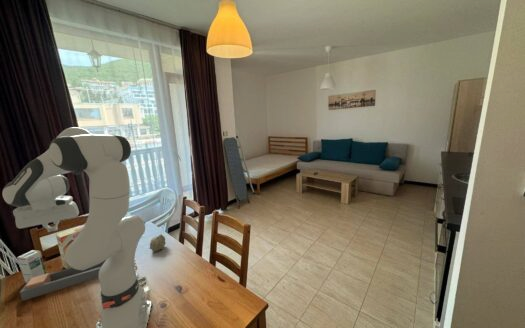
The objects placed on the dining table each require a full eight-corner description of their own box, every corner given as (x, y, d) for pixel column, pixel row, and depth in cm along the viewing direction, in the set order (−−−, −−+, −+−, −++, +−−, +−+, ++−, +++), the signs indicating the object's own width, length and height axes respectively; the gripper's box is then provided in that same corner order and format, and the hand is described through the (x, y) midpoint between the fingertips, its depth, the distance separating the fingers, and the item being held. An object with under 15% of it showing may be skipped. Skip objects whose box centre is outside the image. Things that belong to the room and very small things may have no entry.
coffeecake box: (68, 271, 109) (59, 237, 105) (63, 266, 112) (54, 234, 108) (101, 255, 121) (94, 224, 117) (95, 251, 125) (89, 222, 121)
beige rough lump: (163, 248, 130) (165, 232, 131) (166, 252, 123) (169, 235, 124) (146, 249, 124) (149, 233, 125) (149, 254, 117) (152, 236, 119)
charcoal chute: (112, 272, 106) (110, 265, 105) (22, 300, 90) (19, 292, 90) (114, 263, 114) (112, 255, 113) (31, 287, 98) (29, 279, 97)
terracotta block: (46, 289, 95) (43, 280, 94) (27, 294, 92) (25, 286, 91) (51, 280, 100) (49, 272, 99) (34, 285, 97) (31, 277, 96)
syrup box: (33, 284, 100) (25, 257, 97) (24, 282, 101) (16, 256, 98) (47, 275, 106) (40, 250, 103) (39, 274, 107) (31, 249, 104)
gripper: (7, 210, 84) (16, 241, 87) (72, 199, 94) (79, 227, 96) (15, 205, 90) (24, 234, 92) (76, 195, 99) (82, 222, 102)
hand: (53, 230), depth 94 cm, fingers closed
